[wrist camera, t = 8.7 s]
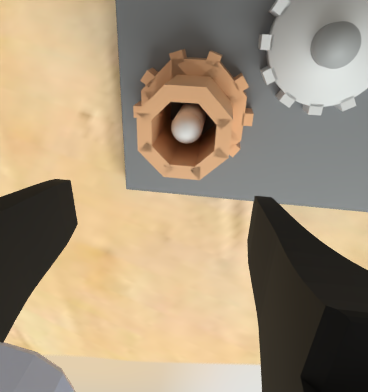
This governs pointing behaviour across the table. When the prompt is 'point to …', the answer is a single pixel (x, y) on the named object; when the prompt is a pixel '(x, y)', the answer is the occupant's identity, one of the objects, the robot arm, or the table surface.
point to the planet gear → (191, 93)
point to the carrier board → (261, 95)
